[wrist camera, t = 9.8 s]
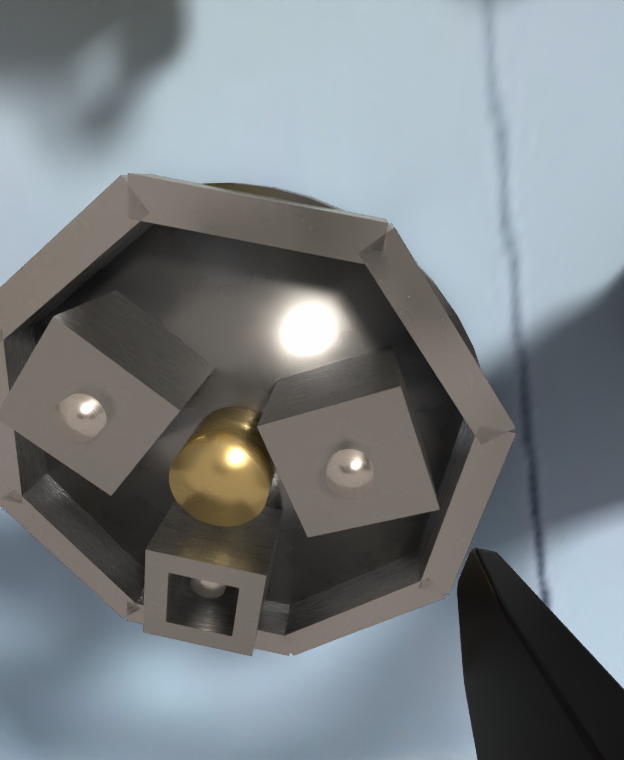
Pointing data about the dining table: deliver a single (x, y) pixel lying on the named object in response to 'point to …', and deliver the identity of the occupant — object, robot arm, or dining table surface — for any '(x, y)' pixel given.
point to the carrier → (246, 401)
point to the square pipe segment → (209, 579)
